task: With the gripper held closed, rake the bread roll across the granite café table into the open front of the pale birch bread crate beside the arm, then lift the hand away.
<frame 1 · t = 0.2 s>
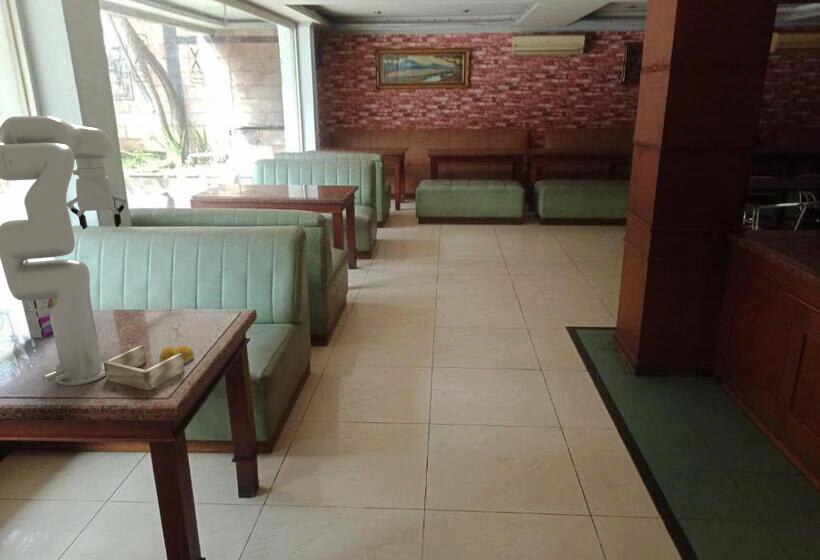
hand: (101, 227, 185), 31 cm above the table, tool pointing down, fingers open, 9 cm apart
candy bar box: (50, 332, 183), on the table
bread roll: (176, 360, 162), on the table
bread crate: (147, 374, 153), on the table
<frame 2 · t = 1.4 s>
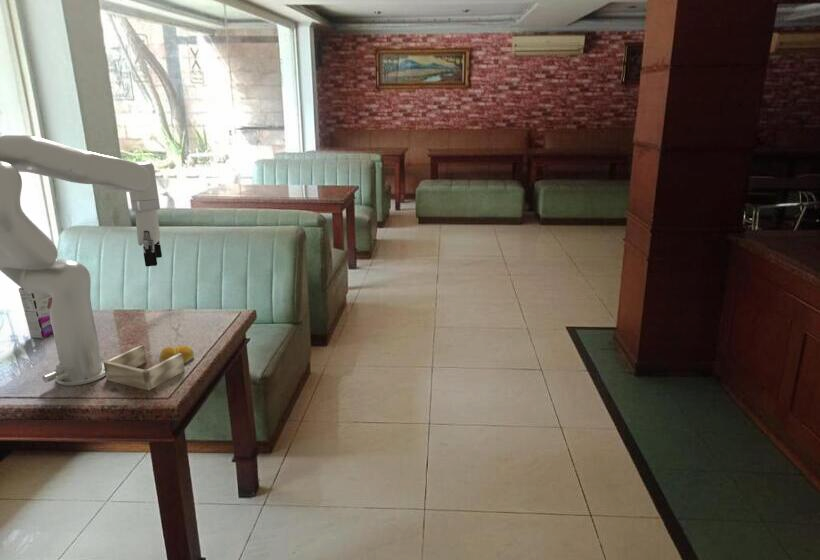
hand: (154, 261, 174), 23 cm above the table, tool pointing down, fingers open, 9 cm apart
nothing on the table moved.
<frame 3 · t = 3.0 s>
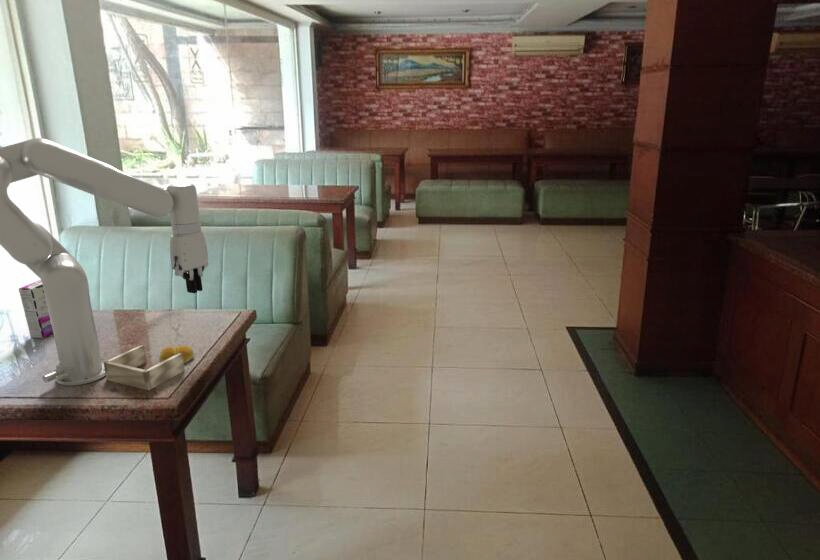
hand: (194, 291, 166), 17 cm above the table, tool pointing down, fingers closed
nothing on the table moved.
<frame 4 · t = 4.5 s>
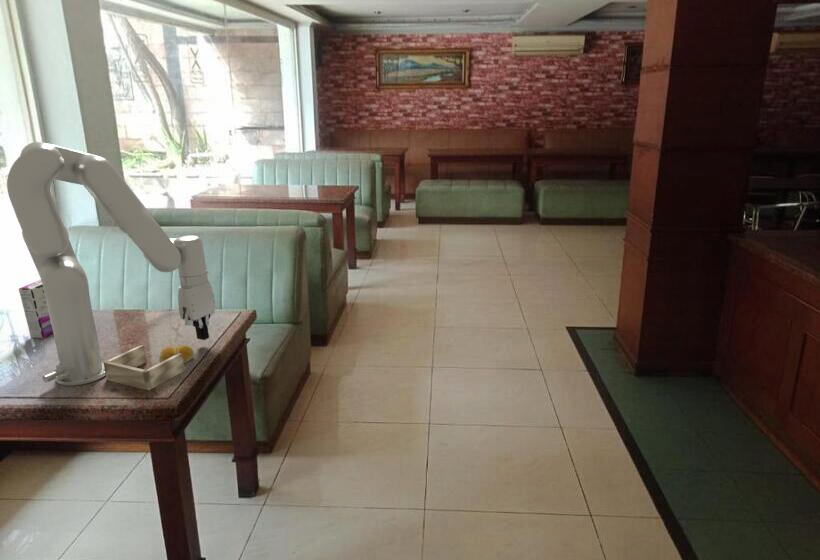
hand: (203, 338, 170), 2 cm above the table, tool pointing down, fingers closed
nothing on the table moved.
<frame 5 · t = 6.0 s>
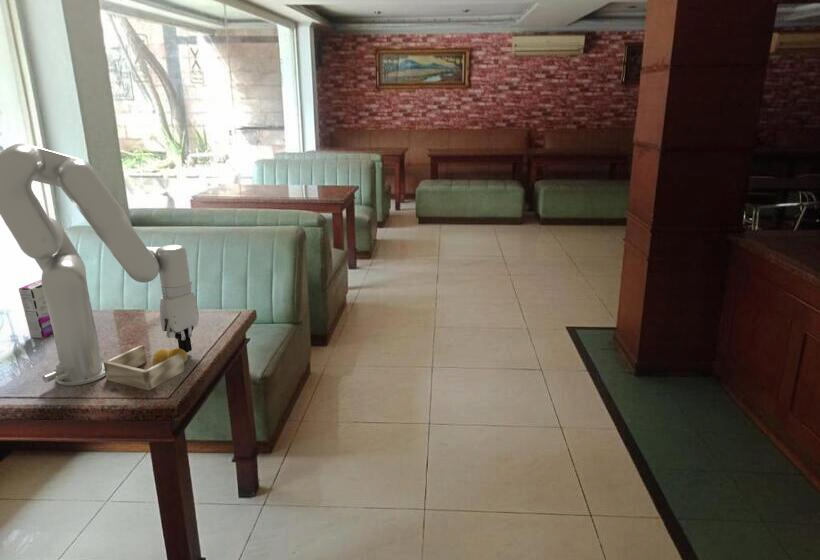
hand: (185, 350, 165), 1 cm above the table, tool pointing down, fingers closed
bread roll: (169, 363, 160), on the table, touching gripper
everything else where it was.
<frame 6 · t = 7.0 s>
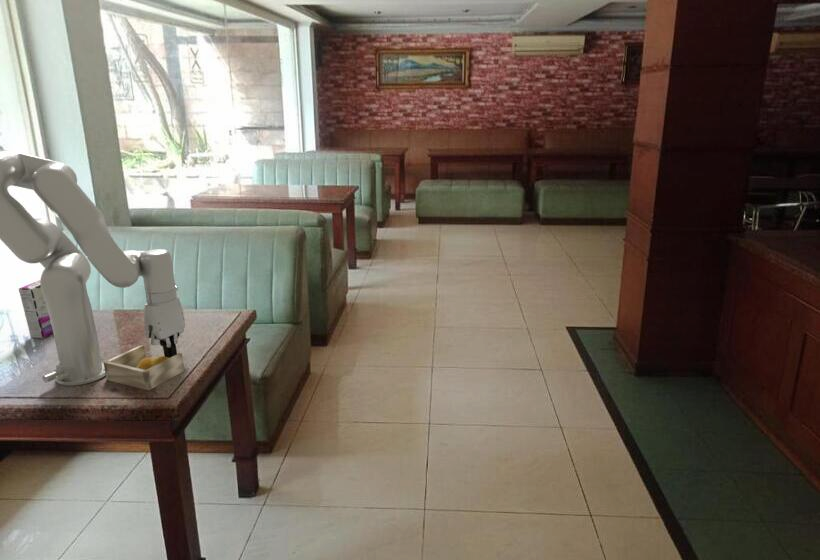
hand: (171, 358, 160), 1 cm above the table, tool pointing down, fingers closed
bread roll: (155, 372, 156), on the table, touching gripper
everything else where it was.
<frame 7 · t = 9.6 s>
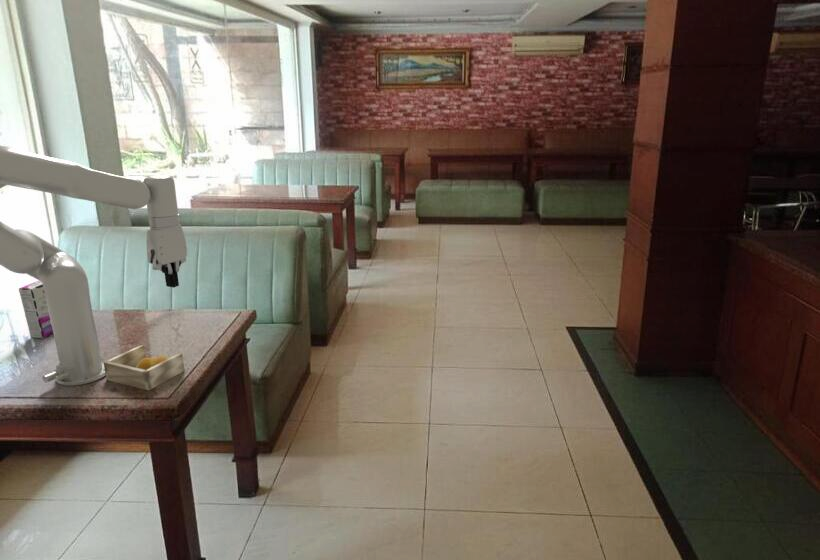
hand: (172, 286, 162), 20 cm above the table, tool pointing down, fingers closed
bread roll: (154, 372, 155), on the table
everything else where it was.
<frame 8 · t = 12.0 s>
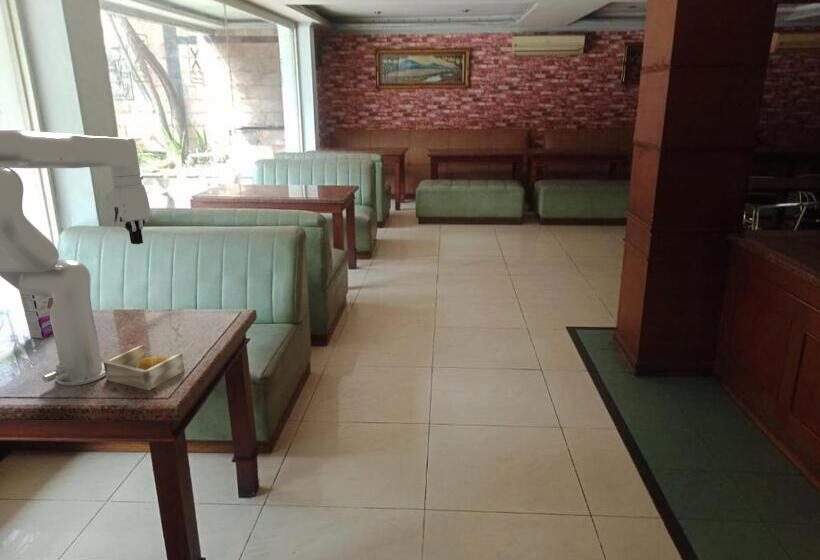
hand: (137, 243, 171), 29 cm above the table, tool pointing down, fingers closed
nothing on the table moved.
at the end: bread roll inside the target area on the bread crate (1.9 cm from its centre), point -0.5 cm above the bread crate's base; bread roll moved 7.6 cm from its start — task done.
